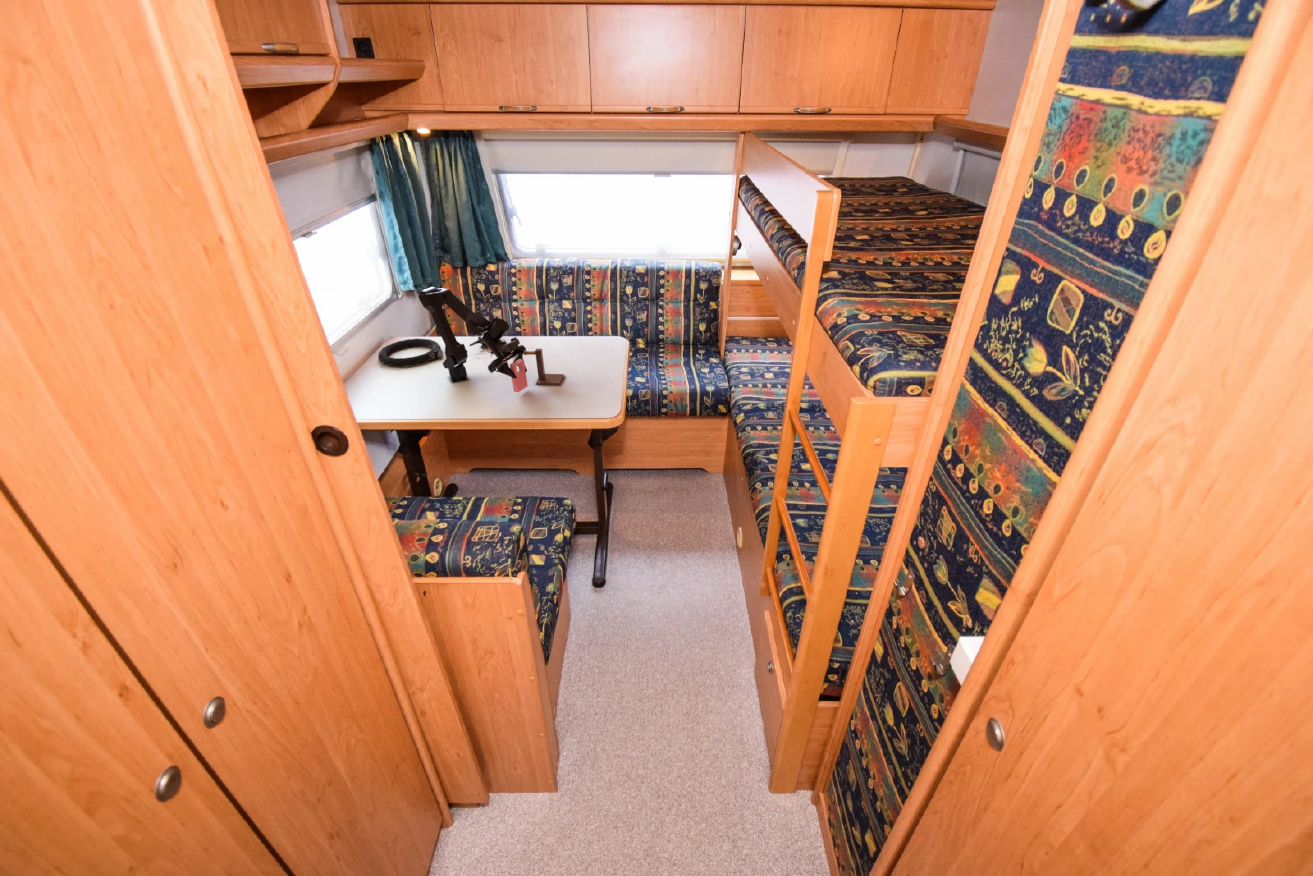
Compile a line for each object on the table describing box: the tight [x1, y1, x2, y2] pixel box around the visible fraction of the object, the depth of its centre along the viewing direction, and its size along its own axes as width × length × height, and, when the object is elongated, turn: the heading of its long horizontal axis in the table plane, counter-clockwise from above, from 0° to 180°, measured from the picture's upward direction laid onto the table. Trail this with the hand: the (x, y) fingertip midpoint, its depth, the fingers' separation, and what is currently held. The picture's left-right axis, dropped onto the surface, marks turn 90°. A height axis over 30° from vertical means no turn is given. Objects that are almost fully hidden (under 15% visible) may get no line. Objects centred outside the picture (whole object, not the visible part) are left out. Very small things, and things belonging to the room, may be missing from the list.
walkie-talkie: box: [469, 336, 488, 349], centre depth 281 cm, size 6×6×20 cm
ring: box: [377, 338, 444, 367], centre depth 273 cm, size 28×4×30 cm
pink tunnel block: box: [509, 358, 529, 393], centre depth 235 cm, size 2×6×12 cm, turn 154°
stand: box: [523, 348, 565, 386], centre depth 246 cm, size 15×9×14 cm, turn 86°
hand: (521, 374), depth 234 cm, fingers closed on pink tunnel block, 6 cm apart
